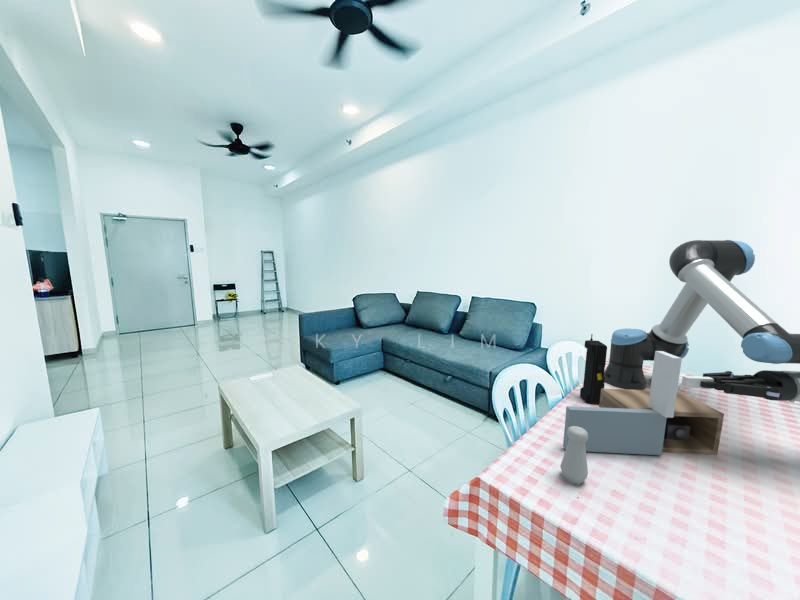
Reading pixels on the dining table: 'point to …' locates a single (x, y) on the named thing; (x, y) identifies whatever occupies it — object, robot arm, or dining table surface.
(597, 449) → the sliding door
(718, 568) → the dining table surface
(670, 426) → the wooden cabinet
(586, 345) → the portable radio
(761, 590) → the dining table surface
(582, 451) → the salt shaker
